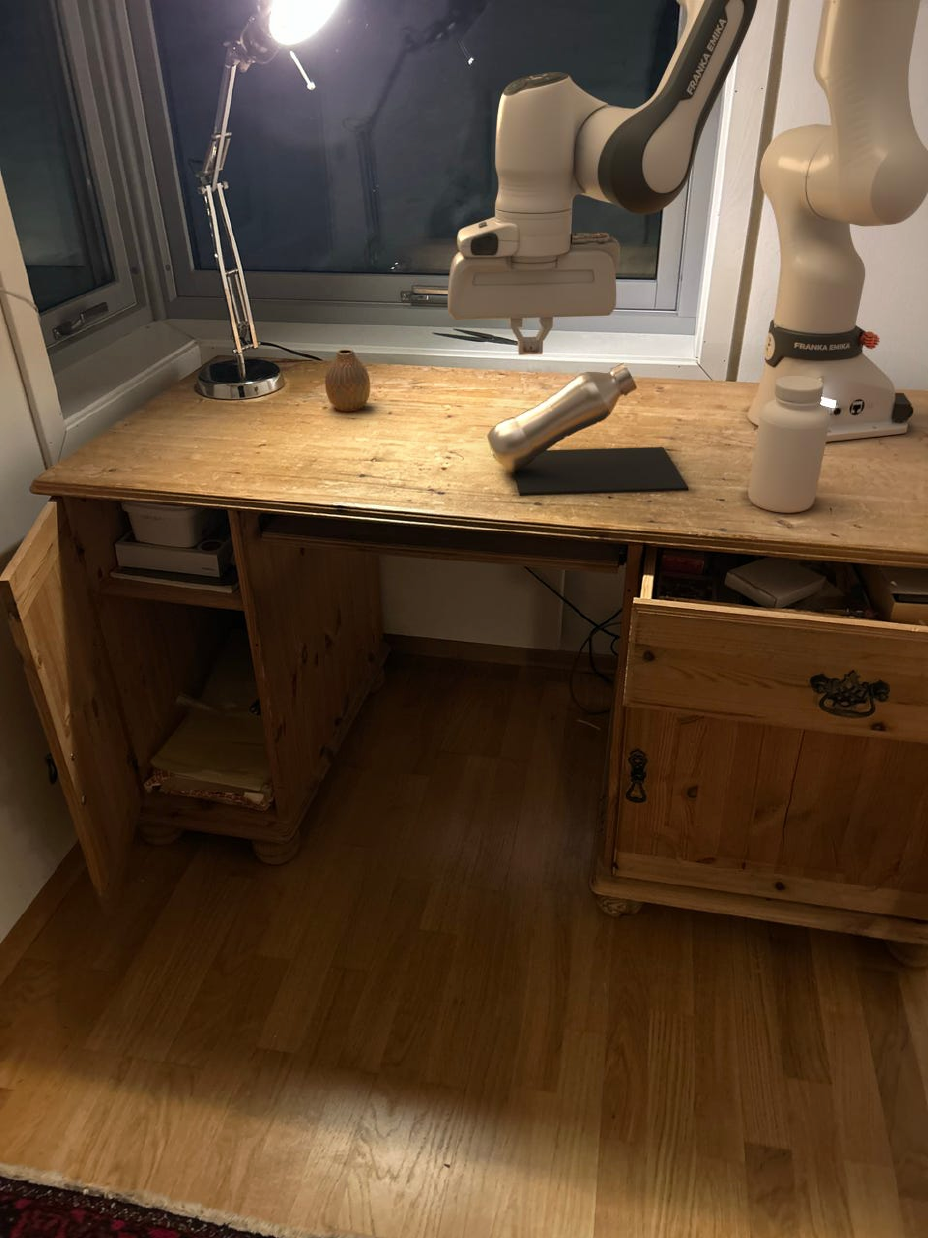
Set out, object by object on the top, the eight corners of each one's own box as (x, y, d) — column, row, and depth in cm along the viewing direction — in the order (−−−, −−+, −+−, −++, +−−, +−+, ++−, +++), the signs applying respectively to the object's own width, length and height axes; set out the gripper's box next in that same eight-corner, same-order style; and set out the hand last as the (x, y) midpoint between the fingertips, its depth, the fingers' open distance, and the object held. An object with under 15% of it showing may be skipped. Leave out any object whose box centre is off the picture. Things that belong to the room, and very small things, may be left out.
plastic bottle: (506, 481, 123) (645, 400, 119) (479, 435, 121) (619, 352, 117) (507, 474, 129) (640, 397, 125) (481, 430, 127) (615, 351, 123)
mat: (662, 449, 133) (663, 446, 133) (688, 490, 121) (688, 487, 121) (509, 453, 132) (509, 451, 132) (519, 495, 120) (519, 492, 120)
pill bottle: (734, 501, 118) (752, 382, 110) (768, 482, 123) (787, 367, 115) (792, 520, 114) (815, 397, 106) (825, 500, 118) (850, 381, 110)
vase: (320, 413, 147) (315, 356, 143) (336, 398, 153) (331, 343, 148) (363, 416, 146) (359, 359, 141) (377, 401, 151) (374, 346, 147)
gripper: (616, 227, 114) (608, 343, 121) (445, 231, 113) (447, 348, 120) (627, 237, 109) (618, 358, 116) (447, 241, 108) (449, 363, 115)
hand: (530, 353), depth 118 cm, fingers closed
